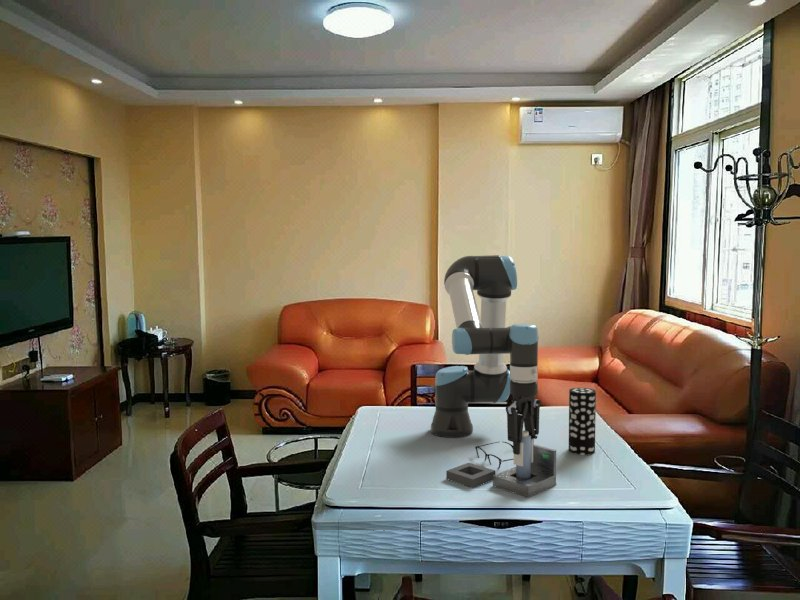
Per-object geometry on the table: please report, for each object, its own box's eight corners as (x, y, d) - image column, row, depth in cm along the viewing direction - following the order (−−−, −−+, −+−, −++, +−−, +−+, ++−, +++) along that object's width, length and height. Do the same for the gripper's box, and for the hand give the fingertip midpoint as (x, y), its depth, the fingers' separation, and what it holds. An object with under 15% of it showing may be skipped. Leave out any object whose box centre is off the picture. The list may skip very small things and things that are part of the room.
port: (492, 486, 186) (492, 451, 185) (520, 474, 195) (521, 441, 194) (528, 497, 177) (528, 461, 176) (556, 484, 186) (556, 450, 185)
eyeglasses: (472, 456, 213) (472, 444, 212) (513, 450, 219) (514, 438, 219) (500, 472, 198) (500, 459, 197) (544, 465, 204) (544, 452, 204)
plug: (513, 478, 185) (513, 431, 184) (521, 474, 188) (521, 429, 187) (525, 481, 183) (525, 434, 181) (533, 478, 185) (533, 431, 184)
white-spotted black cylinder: (596, 455, 211) (597, 393, 210) (569, 454, 213) (569, 393, 211) (593, 447, 219) (594, 388, 218) (567, 446, 221) (568, 387, 219)
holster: (446, 479, 192) (446, 470, 192) (468, 470, 199) (468, 462, 198) (473, 488, 185) (473, 479, 184) (495, 478, 191) (495, 470, 191)
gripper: (516, 387, 175) (516, 473, 176) (552, 377, 186) (552, 459, 188) (493, 383, 180) (493, 467, 182) (530, 374, 192) (530, 453, 194)
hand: (523, 462), depth 185 cm, fingers closed on plug, 4 cm apart
